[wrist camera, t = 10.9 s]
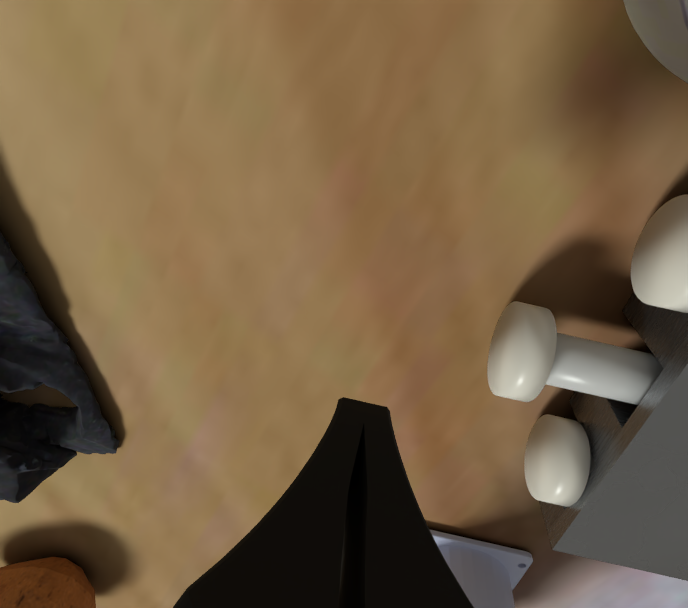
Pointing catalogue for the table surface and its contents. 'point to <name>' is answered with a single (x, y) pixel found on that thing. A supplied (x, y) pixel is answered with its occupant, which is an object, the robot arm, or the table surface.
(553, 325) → the knob middle
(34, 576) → the potato
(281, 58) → the table surface
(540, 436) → the knob
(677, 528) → the rack
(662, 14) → the teacup
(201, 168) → the table surface
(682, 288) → the knob
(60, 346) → the black cloth
